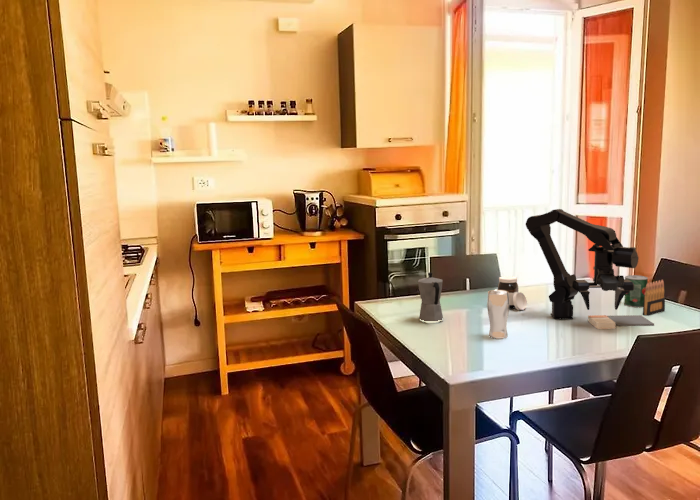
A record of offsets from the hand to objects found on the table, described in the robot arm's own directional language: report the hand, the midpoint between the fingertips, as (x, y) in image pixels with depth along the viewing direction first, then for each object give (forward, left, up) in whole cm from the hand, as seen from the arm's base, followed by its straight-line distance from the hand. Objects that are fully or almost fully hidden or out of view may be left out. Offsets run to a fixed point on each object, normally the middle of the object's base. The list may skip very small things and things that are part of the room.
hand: (602, 309), depth 194 cm
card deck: (0, 0, -6) cm, 6 cm away
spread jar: (-26, +25, -6) cm, 36 cm away
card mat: (+11, +4, -5) cm, 12 cm away
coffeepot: (-58, +6, -6) cm, 58 cm away
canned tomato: (+21, +27, -6) cm, 35 cm away
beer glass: (-37, -13, -6) cm, 40 cm away
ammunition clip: (+23, +15, -6) cm, 28 cm away
